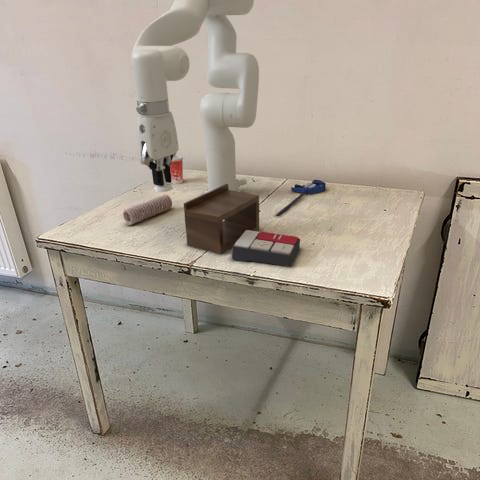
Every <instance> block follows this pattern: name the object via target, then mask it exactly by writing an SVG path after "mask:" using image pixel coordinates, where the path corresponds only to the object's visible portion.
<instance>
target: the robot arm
mask: <svg viewBox="0 0 480 480" xmlns="http://www.w3.org/2000/svg"><path fill="white" fill-rule="evenodd" d="M254 3H255V0H173V2H172V4H171V7H170V8H169V9H168V10H167V11H166V12H164V13H163V14H161V15H160V16H159V17H157V18H156V19H155V20H153V21H151V22H150V23H149V24H148V25H147V26H146V27H144V28H143V30H142V31H141V32H140V33H139V35H138V37H137V40H136V41H135V44H134V46H133V48H132V51H131V56H130V67H131V70H132V77H133V84H134V91H135V98H136V105H137V107H136V112H137V113H138V116H137V138H138V139H137V140H138V149H139V154H140V157H141V159H140V164H141V165H144V166H147V167H148V168H149V170H150V171H151V175H152V182H153V185H154V186H156V185H158V186H164V179H163V172H164V176H165V180H166V182H167V183H168V184H171V182H172V179H171V171H170V167H171V165H172V163H171V161H172V159H173V157H174V155H177V153H178V151H179V139H178V132H177V128H176V123H175V119H174V115H173V112H172V111H170V103H169V93H168V84H167V82H178V81H180V80H183V79H184V78H185V77H186V76H187V75H188V73H189V71H190V64H191V63H190V58H189V55H188V53H187V51H186V50H184V48H182V47H180V46H177V44H178V45H179V44H180V43H185V42H186V41H189V40H190V39H192V38H194V37H196V36H198V33H199V32H200V30H201V27H202V26H203V23H204V26H205V30H206V34H207V55H206V79H207V82H208V84H209V85H210V86H211V87H212V88H216V89H217V88H218V89H233V90H234V89H237V90H238V89H239V93H231V92H211V93H207V94H206V95H204V96H203V97H202V98H201V101H200V104H199V112H200V117H201V118H200V119H201V122H202V126H203V131H204V132H203V133H204V143H205V161H206V162H205V163H206V176H207V189H205V190H204V191H203V194H205V193H207V192H209V191H211V190H214V189H216V188H218V187H220V186H222V185H225V184H228V190H232V191H238V192H242V190H241V189H240V187H241V186H245V185H247V183H248V181H247V179H246V178H241V179H239V178H237V166H236V164H237V163H236V141H235V137H234V134H233V133H232V131H231V129H230V128H240V129H246V128H251V127H252V126H253V125H254V124H255V122H256V117H257V110H258V98H259V97H258V96H259V85H260V84H259V83H260V66H259V62H258V59H257V57H256V56H255V55H253V53H249V52H237V32H236V29H235V27H234V26H233V24H232V22H231V21H230V19H229V18H228V17H227V16H245V15H248V14H249V13H250V12H251V10H252V9H253V7H254ZM162 158H164V161H163V166H165V169H163V171H162V170H160V159H162Z"/></svg>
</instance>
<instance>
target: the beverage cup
mask: <svg viewBox="0 0 480 480" xmlns="http://www.w3.org/2000/svg"><path fill="white" fill-rule="evenodd" d="M183 160H184V156H183V155H181V154H175V155H174V157H173V159H172V161H171V163H172V165H171V167H170V171H171V179H172V182H170V184H174V185H178V184H182V183H183V182H184V167H183V164H184V163H183Z"/></svg>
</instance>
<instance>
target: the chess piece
mask: <svg viewBox="0 0 480 480" xmlns="http://www.w3.org/2000/svg"><path fill="white" fill-rule="evenodd" d="M163 161H164V158H162V159H160V170H162V171H163V169H165V166H163ZM163 179H164V186H158V185H154V186H153V191H154V192H157V193H167V192H170V191H172V190H173V185H172V183H168V182H166V180H165V176H164V172H163Z"/></svg>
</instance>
